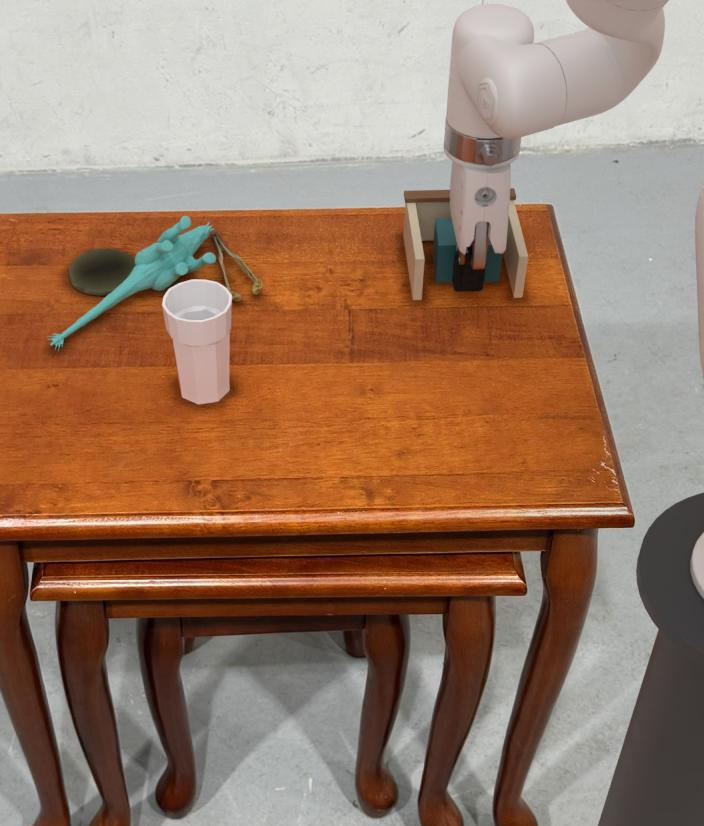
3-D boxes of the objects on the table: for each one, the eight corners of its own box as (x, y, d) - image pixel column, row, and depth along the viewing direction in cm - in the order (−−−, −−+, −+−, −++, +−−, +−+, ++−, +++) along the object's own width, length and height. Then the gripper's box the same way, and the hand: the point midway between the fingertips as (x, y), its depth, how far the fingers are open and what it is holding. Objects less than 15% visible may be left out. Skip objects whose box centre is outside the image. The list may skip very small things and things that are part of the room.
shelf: (524, 297, 140) (531, 251, 135) (410, 300, 140) (413, 254, 135) (508, 233, 148) (514, 187, 144) (401, 236, 148) (403, 190, 144)
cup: (229, 413, 127) (223, 325, 119) (164, 405, 128) (154, 317, 120) (243, 370, 132) (238, 283, 124) (180, 362, 132) (172, 276, 125)
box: (498, 282, 142) (503, 244, 138) (435, 282, 142) (438, 245, 138) (494, 255, 145) (498, 218, 142) (432, 256, 145) (435, 218, 142)
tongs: (222, 232, 148) (218, 219, 147) (268, 296, 140) (264, 282, 139) (189, 246, 148) (185, 233, 146) (233, 311, 139) (230, 297, 138)
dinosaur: (222, 187, 140) (189, 207, 147) (54, 309, 128) (26, 325, 134) (252, 233, 142) (219, 251, 148) (89, 358, 130) (60, 371, 136)
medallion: (97, 239, 146) (98, 244, 147) (53, 276, 142) (54, 282, 142) (154, 261, 143) (154, 267, 144) (110, 301, 139) (111, 306, 140)
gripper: (533, 176, 121) (512, 329, 134) (509, 97, 131) (492, 246, 144) (453, 178, 121) (440, 331, 134) (436, 98, 131) (425, 248, 144)
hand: (467, 286), depth 139 cm, fingers closed
